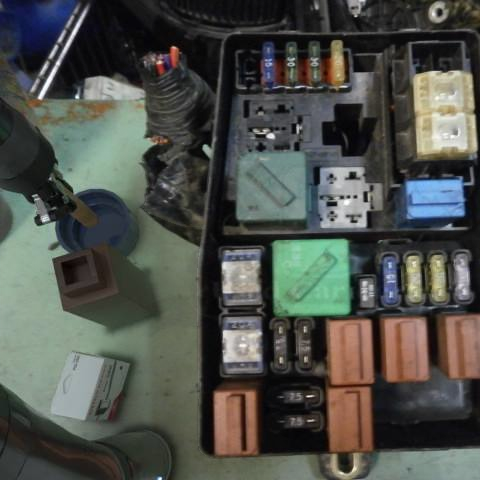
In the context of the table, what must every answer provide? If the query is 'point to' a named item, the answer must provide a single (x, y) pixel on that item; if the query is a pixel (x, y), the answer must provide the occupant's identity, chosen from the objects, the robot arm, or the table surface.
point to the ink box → (89, 387)
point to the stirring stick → (81, 210)
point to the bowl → (100, 224)
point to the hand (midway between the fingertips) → (68, 201)
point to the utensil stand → (102, 286)
